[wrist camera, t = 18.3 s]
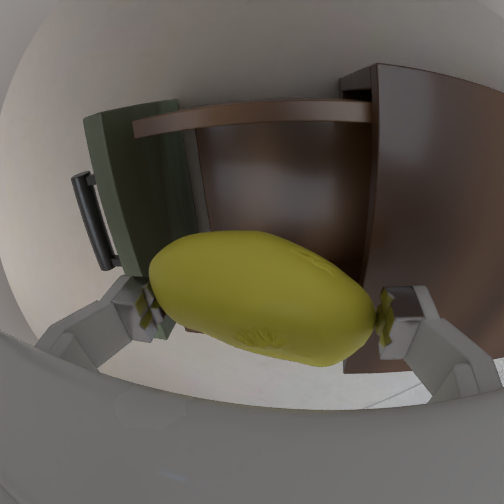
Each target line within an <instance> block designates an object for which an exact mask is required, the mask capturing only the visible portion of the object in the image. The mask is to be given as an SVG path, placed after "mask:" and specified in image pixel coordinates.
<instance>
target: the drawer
mask: <svg viewBox="0 0 504 504" xmlns="http://www.w3.org/2000/svg"><path fill="white" fill-rule="evenodd" d="M83 123H84V129H85V134H86V139H87V144H88V149H89V154H90V159H91V163H92V167H93V172H94V174H91V173H90V171H85V172H82V173H79V174H76V175H74V176H73V177H72V178H71V181H72V185H73V189H74V192H75V196H76V199H77V203H78V206H79V209H80V212H81V216H82V219H83V222H84V225H85V228H86V231H87V234H88V236H89V239H90V242H91V245H92V248H93V250H94V253H95V256H96V258H97V261H98V263H99V266H100V268H101V270H103V271H108V270H111V269H113V268H114V267H116V266H121V267H123V270H124V273H125V275H130V276H141V277H149V266H150V263H151V261H152V259H153V258H154V257H155V256H156V254H158V253H159V252H160V251H161V250H162V249H163V248H165V247H166V246H167V245H169V244H170V243H172V242H174V241H175V240H177V239H179V238H182V237H184V236H188V235H191V234H197V233H199V230H198V225H197V219H196V214H195V208H194V203H193V197H192V191H191V186H190V180H189V174H188V168H187V161H186V155H185V149H184V142H183V135H182V131H183V130H190V129H195V131H196V139H197V146H198V153H199V160H200V167H201V173H202V180H203V186H204V193H205V199H206V205H207V211H208V217H209V223H210V229H211V232H214V231H229V230H240V231H248V230H252V231H261V232H266V233H269V234H273V235H276V236H279V237H281V238H284V239H286V240H289V241H291V242H293V243H295V244H298V245H300V246H302V247H304V248H306V249H308V250H310V251H312V252H314V253H316V254H318V255H319V256H321V257H323V258H325V259H326V260H328V261H329V262H331V263H332V264H334V265H335V266H337V267H338V268H339V269H340V270H342V271H343V272H344V273H345V274H346V275H348V276H349V277H350V278H351V279H353V280H354V281H355V282H356V283H358V284H359V281H360V275H361V268H362V261H363V254H364V247H365V238H366V230H367V220H368V210H369V198H370V184H371V165H372V100H359V99H341V98H281V99H262V100H249V101H238V102H228V103H220V104H212V105H204V106H198V107H192V108H187V109H182V110H179V106H178V100H177V99H172V100H164V101H157V102H150V103H144V104H138V105H133V106H128V107H122V108H118V109H113V110H108V111H104V112H100V113H97V114H94V115H91V116H88V117H85V118H84V119H83ZM96 184H97V188H98V191H99V195H100V199H101V202H102V206H103V209H104V213H105V216H106V219H107V223H108V226H109V229H110V232H111V235H112V238H113V241H114V244H115V247H116V250H117V253H118V255H115V253H114V251H113V248H112V245H111V242H110V239H109V236H108V233H107V230H106V227H105V223H104V220H103V217H102V214H101V210H100V207H99V203H98V200H97V196H96V192H95V189H94V185H96ZM175 323H176V322H175V321H174V320H172V319H171V318H170V317H169V316H168V315H167V314H166V316H165V318H164V320H163V321H162V322H161V323H159V324H158V325H157V328H158V331H157V333H156V334H155V336H154V338H158V339H164V340H167V339H168V337H169V335H170V333H171V331H172V329H173V327H174V325H175ZM185 330H186V331H187V332H194V333H202V332H200V331H196V330H193V329H189V328H187V327H185ZM202 334H204V333H202Z"/></svg>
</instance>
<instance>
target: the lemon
mask: <svg viewBox="0 0 504 504" xmlns="http://www.w3.org/2000/svg"><path fill="white" fill-rule="evenodd" d="M149 279H150V283H151V287H152V290H153V292H154V295H155V297H156V299H157V301H158V303H159V304H160V306H161V307H162V309H163V310H164V311H165V313H166V314H167V315H168V316H169V317H170V318H171V319H172V320H174V321H175V322H177V323H178V324H180V325H182V326H184V327H187V328H189V329H193V330H196V331H200V332H202V333H204V334H207V335H209V336H211V337H214V338H216V339H218V340H220V341H223V342H225V343H227V344H229V345H232V346H234V347H237V348H240V349H243V350H246V351H250V352H253V353H257V354H261V355H265V356H269V357H273V358H278V359H283V360H288V361H293V362H298V363H303V364H306V365H311V366H316V367H327V366H331V365H334V364H337V363H339V362H341V361H343V360H345V359H346V358H348V357H349V356H351V355H352V354H353V353H355V352H356V351H357V350H358V349H359V348H361V347H362V346H363V345H364V344H365V343H366V341H367V340H368V338H369V337H370V335H371V334H372V332H373V329H374V327H375V321H376V312H375V308H374V304H373V302H372V300H371V298H370V296H369V295H368V294H367V292H366V291H365V290H364V289H363V288H362V287H361V286H360V285H359V284H358V283H356V282H355V281H354V280H353V279H351V278H350V277H349V276H348V275H346V274H345V273H344V272H343V271H342V270H340V269H339V268H338V267H337V266H335V265H334V264H332V263H331V262H329V261H328V260H326V259H325V258H323V257H321V256H319V255H318V254H316V253H314V252H312V251H310V250H308V249H306V248H304V247H302V246H300V245H298V244H295V243H293V242H291V241H289V240H286V239H284V238H281V237H279V236H276V235H273V234H269V233H266V232H261V231H252V230H248V231H240V230H229V231H214V232H204V233H197V234H191V235H188V236H184V237H182V238H179V239H177V240H175V241H174V242H172V243H170V244H169V245H167V246H166V247H165V248H163V249H162V250H161V251H160V252H159V253H158V254H156V256H155V257H154V258H153V259H152V261H151V263H150V266H149Z"/></svg>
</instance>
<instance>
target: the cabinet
mask: <svg viewBox="0 0 504 504" xmlns="http://www.w3.org/2000/svg"><path fill="white" fill-rule="evenodd" d="M339 83H340V98H341V99H359V100H372V165H371V184H370V198H369V210H368V220H367V230H366V238H365V247H364V254H363V261H362V268H361V275H360V281H359V285H360V286H361V287H362V288H363V289H364V290H365V291H366V292H367V294H368V295H369V296H370V298H371V300H372V302H373V304H374V308H375V312H376V310H377V306H378V305H379V304H380V303H381V299H380V293H381V290H382V287H383V286H411V285H425V286H426V287H427V289H428V291H429V293H430V295H431V298H432V300H433V302H434V304H435V307H436V309H437V311H438V314H439V316H440V319H441V318H444V319H446V320H447V321H448V322H450V323H451V324H452V325H453V326H455V327H456V328H457V329H458V330H460V331H461V332H462V333H463V334H465V335H466V336H467V337H468V338H469V339H471V340H472V341H473V342H474V343H476V344H477V345H478V346H479V347H480V348H482V349H483V350H484V351H485V352H486V353H487V354H489V355H490V356H491V357H492V359H498V358H502V357H504V93H503V92H500V91H497V90H495V89H492V88H489V87H486V86H483V85H480V84H477V83H473V82H470V81H467V80H463V79H460V78H456V77H452V76H448V75H444V74H440V73H436V72H431V71H426V70H421V69H416V68H410V67H404V66H398V65H391V64H383V63H375V64H373V65H371V66H368V67H366V68H363V69H361V70H359V71H356V72H354V73H352V74H349V75H347V76H345V77H342V78H340V79H339ZM379 339H380V337H379V336H378V335H377V334H376V329H375V327H374V329H373V332H372V334H371V335H370V337H369V338H368V340H367V341H366V343H365V344H364V345H363V346H362V347H361V348H359V349H358V350H357V351H356V352H355V353H353V354H352V355H351V356H349V357H348V358H346V359H345V360H343V373H344V374H359V373H386V372H402V371H412V369H411V368H410V367H409V366H408V364H407V363H406V362H405V361H404V359H394V360H381V359H380V353H379V347H378V342H379Z"/></svg>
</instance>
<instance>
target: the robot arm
mask: <svg viewBox="0 0 504 504" xmlns="http://www.w3.org/2000/svg"><path fill="white" fill-rule="evenodd" d="M380 299H381V303H380V304H379V305H378V306H377V310H376V321H375V329H376V334H377V335H378V336H379V337H380V339H379V342H378V347H379V353H380V359H381V360H394V359H404V361H405V362H406V363H407V364H408V366H409V367H410V368H411V369H412V371H413V372H414V373H415V374H416V376H417V377H418V378H419V379H420V381H421V382H422V383H423V384H424V386H425V387H426V388H427V389H428V391H429V392H430V393H431V394H432V396H433V397H432V398H431V399H430V400H429V402H428V403H427V404H420V405H412V406H402V407H392V408H378V409H359V410H306V409H286V408H272V407H261V406H251V405H243V404H235V403H228V402H221V401H215V400H209V399H203V398H197V397H192V396H187V395H182V394H177V393H173V392H168V391H164V390H160V389H155V388H151V387H147V386H144V385H140V384H136V383H133V382H129V381H126V380H122V379H119V378H116V377H112V376H109V375H106V374H103V373H100V372H99V370H98V369H97V368H98V367H99V366H101V365H102V364H103V363H104V362H106V361H107V360H108V359H110V358H111V357H112V356H113V355H115V354H116V353H117V352H118V351H120V350H121V349H122V348H124V347H125V346H126V345H127V344H129V343H130V342H131V341H132V340H136V341H142V342H148V343H151V342H152V340H153V338H154V336H155V334H156V333H157V331H158V328H157V325H158V324H159V323H161V322H162V321H163V320H164V318H165V316H166V313H165V311H164V310H163V309H162V307H161V306H160V304H159V303H158V301H157V299H156V297H155V295H154V292H153V290H152V287H151V283H150V279H149V277H141V276H130V275H122V276H120V277H119V278H118V279H117V280H116V282H115V283H114V284H113V285H112V286H111V288H110V289H109V290H108V291H107V292H106V294H105V295H104V296H103V297H102V299H101V300H100V301H95V302H93V303H91V304H89V305H87V306H86V307H84V308H82V309H80V310H78V311H76V312H74V313H73V314H71V315H69V316H67V317H65V318H63V319H62V320H60V321H58V322H56V323H54V324H53V325H51V326H50V327H49V328H48V329H47V331H46V332H45V333H44V334H43V336H42V337H41V338H40V340H39V341H38V342H37V344H36V345H35V346H32V345H30V344H28V343H25V342H23V341H21V340H19V339H17V338H15V337H13V336H11V335H9V334H8V333H6V332H4V331H2V330H0V504H504V387H503V386H502V383H501V380H500V378H499V375H498V372H497V369H496V367H495V364H494V361H493V359H492V357H491V356H490V355H489V354H487V353H486V352H485V351H484V350H483V349H482V348H480V347H479V346H478V345H477V344H476V343H474V342H473V341H472V340H471V339H469V338H468V337H467V336H466V335H465V334H463V333H462V332H461V331H460V330H458V329H457V328H456V327H455V326H453V325H452V324H451V323H450V322H448V321H447V320H446V319H444V318H441V319H440V316H439V314H438V311H437V309H436V307H435V304H434V302H433V300H432V298H431V295H430V293H429V291H428V289H427V287H426V286H425V285H411V286H383V287H382V290H381V293H380Z"/></svg>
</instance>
